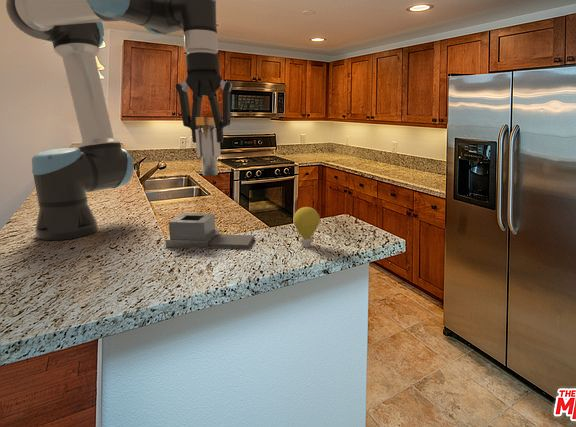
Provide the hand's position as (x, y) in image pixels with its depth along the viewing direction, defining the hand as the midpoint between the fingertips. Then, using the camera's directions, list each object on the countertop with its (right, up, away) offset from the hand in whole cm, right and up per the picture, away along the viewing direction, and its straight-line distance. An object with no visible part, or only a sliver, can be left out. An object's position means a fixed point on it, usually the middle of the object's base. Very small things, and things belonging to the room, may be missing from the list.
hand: (209, 156), depth 90 cm
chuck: (-5, -22, +6) cm, 23 cm away
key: (0, -4, +1) cm, 5 cm away
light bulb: (+24, -22, +3) cm, 33 cm away
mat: (+5, -22, +5) cm, 23 cm away
